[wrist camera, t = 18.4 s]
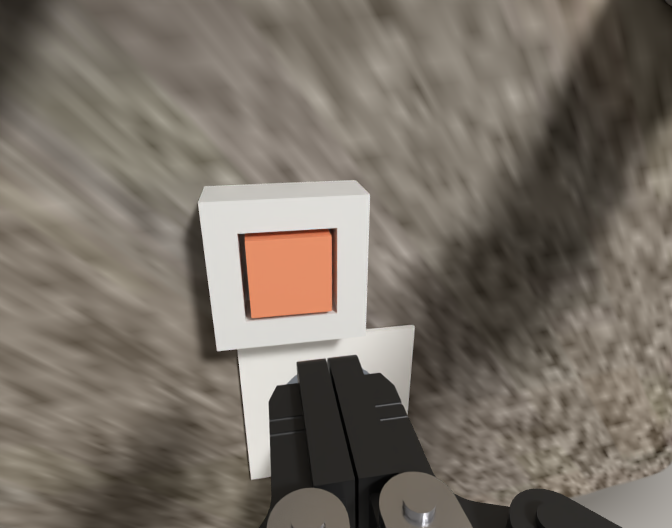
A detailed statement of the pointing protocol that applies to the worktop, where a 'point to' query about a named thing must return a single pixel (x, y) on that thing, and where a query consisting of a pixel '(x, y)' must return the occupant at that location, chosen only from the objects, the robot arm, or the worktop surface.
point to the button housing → (284, 215)
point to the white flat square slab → (280, 360)
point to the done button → (289, 272)
